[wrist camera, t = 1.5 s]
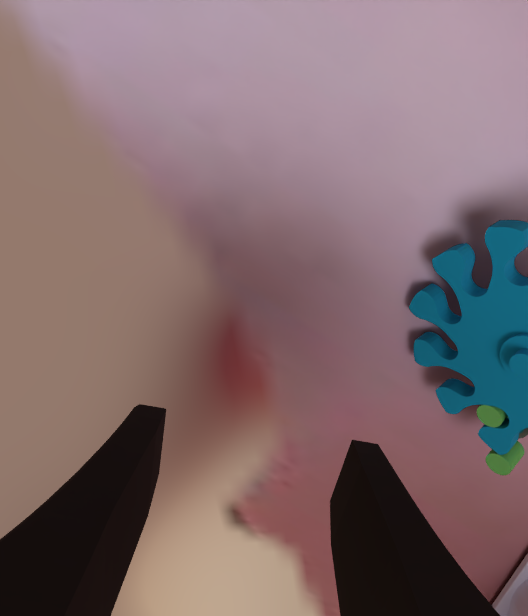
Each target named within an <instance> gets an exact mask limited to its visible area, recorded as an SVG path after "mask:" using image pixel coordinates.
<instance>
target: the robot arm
mask: <svg viewBox="0 0 528 616" xmlns="http://www.w3.org/2000/svg"><path fill="white" fill-rule="evenodd" d="M165 415H166V409H164V408H158V407H153V406H147V405H138V406H136V407H134V409H133V410H132V411H131V412H130V414H129V415H128V416H127V418H126V419H125V420H124V421H123V423H122V424H121V425H120V426H119V427H118V429H117V430H116V431H115V432H114V433H113V434H112V435H111V437H110V438H109V439H108V440H107V441H106V442H105V443H104V444H103V446H102V447H101V448H100V449H99V450H98V451H97V452H96V453H95V454H94V455H93V456H92V457H91V458H90V459H89V460H88V461H87V462H86V463H85V464H84V465H83V466H82V468H81V469H80V470H79V471H78V472H77V473H75V475H73V476H72V477H71V478H70V479H69V481H67V482H66V483H65V484H64V485H63V486H62V487H61V488H60V489H59V490H58V491H56V492H55V493H54V494H53V495H52V496H51V497H50V498H49V499H48V500H47V501H46V502H44V503H43V504H42V505H41V506H40V507H39V508H38V509H36V510H35V511H34V512H33V513H32V514H31V515H30V516H29V517H27V518H26V519H25V520H24V521H23V522H21V523H20V524H19V525H18V526H16V527H15V528H14V529H13V530H12V531H10V532H9V533H8V534H6V535H5V536H4V537H3V538H1V539H0V616H111V613H112V610H113V608H114V605H115V602H116V600H117V597H118V594H119V592H120V589H121V586H122V583H123V581H124V578H125V576H126V573H127V570H128V568H129V565H130V562H131V560H132V557H133V554H134V552H135V549H136V546H137V544H138V541H139V538H140V535H141V533H142V530H143V527H144V525H145V522H146V519H147V517H148V513H149V509H150V506H151V502H152V498H153V494H154V490H155V486H156V483H157V479H158V475H159V468H160V459H161V450H162V442H163V433H164V424H165ZM330 521H331V547H332V555H333V563H334V570H335V578H336V585H337V593H338V600H339V607H340V614H341V616H528V554H527V555H526V556H525V558H524V559H523V561H522V562H521V564H520V565H519V567H518V568H517V569H516V571H515V572H514V574H513V575H512V577H511V578H510V580H509V581H508V582H507V584H506V585H505V587H504V588H503V590H502V591H501V592H500V594H499V595H498V597H497V598H496V600H495V601H494V603H493V604H492V605H491V604H490V603H489V602H488V601H487V599H486V598H485V597H484V596H483V595H482V594H481V592H480V591H479V590H478V589H477V588H476V586H475V585H474V584H473V583H472V581H471V580H470V579H469V578H468V576H467V575H466V574H465V573H464V571H463V570H462V569H461V567H460V566H459V565H458V563H457V562H456V561H455V559H454V558H453V557H452V555H451V554H450V553H449V551H448V550H447V549H446V547H445V546H444V545H443V543H442V542H441V540H440V539H439V538H438V536H437V535H436V533H435V532H434V530H433V529H432V527H431V526H430V524H429V523H428V522H427V520H426V519H425V517H424V516H423V514H422V513H421V511H420V510H419V508H418V507H417V505H416V504H415V502H414V501H413V499H412V498H411V496H410V494H409V493H408V491H407V490H406V488H405V487H404V485H403V483H402V482H401V480H400V479H399V477H398V476H397V474H396V472H395V471H394V469H393V467H392V466H391V464H390V463H389V461H388V459H387V458H386V456H385V455H384V453H383V452H382V450H381V448H380V447H379V445H378V444H374V443H368V442H362V441H356V440H352V442H351V444H350V447H349V450H348V453H347V455H346V458H345V461H344V464H343V467H342V469H341V472H340V475H339V478H338V480H337V483H336V486H335V489H334V492H333V494H332V497H331V500H330Z"/></svg>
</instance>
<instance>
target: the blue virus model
mask: <svg viewBox="0 0 528 616" xmlns="http://www.w3.org/2000/svg"><path fill="white" fill-rule="evenodd" d="M485 243H486V246H487V248H488V250H489V252H490V255H491V258H492V265H493V271H492V277H491V281H490V284H489V287H488V289H484V288H481V287H479V286H477V285H476V284H475V283H474V281H473V279H472V269H473V266H474V263H475V254H474V251H473V249H472V248H471V246H470V245H469V244H467V243H464V244H459V245H455V246H453V247H451V248H449V249H448V250H446V251H445V252H443V253H441V254H440V255H438V256H436V257H435V258H433V259H432V264H433V267H434V269H435V271H436V272H437V273H438V274H439V275H440V276H441V277H442V278H444V279H445V280H446V281H447V282H448V283H449V285H450V286H451V287H452V289H453V290H454V292H455V294H456V296H457V298H458V301H459V305H460V308H461V312H462V316H458V315H456V314H454V313H453V312H452V311H451V310H450V308H449V306H448V303H447V299H446V295H445V293H444V291H443V290H442V289H441V288H440V287H439V286H437V285H435V284H432V283H431V284H430V285H428V286H427V287H425V288H424V289H422V290H421V291H419V292H418V293H417V294H416V295H415V296H414V298H413V300H412V302H411V304H410V306H409V309H410V310H411V312H412V313H413V314H414V315H415V316H416V317H418V318H421V319H424V320H427V321H429V322H431V323H433V324H435V325H437V326H438V327H439V328H441V329H442V330H443V331H444V332H445V333H446V334H447V335H448V336H449V337H450V339H451V340H452V341H453V342H454V343H455V345H456V346H457V349H458V351H455V350H453V349H451V348H450V347H449V346H448V345H447V344H446V342H445V341H444V340H443V339H442V338H441V337H440V336H439V335H438V334H436V333H433V332H425V333H424V334H423V335H421V336H420V337H419V338H417V339H416V340H415V343H414V357H415V361H416V362H417V363H418V364H420V365H422V366H425V367H430V366H442V367H447V368H450V369H452V370H454V371H457V372H458V373H460V374H462V375H464V376H466V377H467V378H469V379H470V380H471V381H472V383H473V384H474V387H472V386H470V385H468V384H466V383H464V382H462V381H460V380H458V379H454V378H451V379H448V380H446V381H445V382H444V383H443V384H442V385H441V386H440V387H439V388H438V389H436V394H437V397H438V399H439V401H440V403H441V405H442V406H443V408H444V409H445V411H446V412H447V413H450V414H457V413H459V412H460V411H461V410H462V409H464V408H466V407H468V406H471V405H480V406H479V407H478V409H477V416H478V418H479V419H480V421H481V422H482V423H484V424H485V425H484V426H483V427H482V428H481V429H480V430H479V433H478V435H479V436H480V438H481V439H482V440H483V441H484V442H485V443H486V444H487V445H488V446H489V447H490V448H492V450H491V451H490V453H489V454H488V455H487V456H486V463H487V465H488V466H489V468H490V469H491V470H492V471H494V472H495V473H497V474H500V475H508V474H509V473H510V472H511V471H512V469H513V468H514V467H515V465H516V464H517V463H518V461H519V460H520V459H521V458H522V456H523V455H524V448H523V446H522V445H521V444H520V443H519V442H518V441H517V440H518V438H523V437H525V436H526V435H528V277H525V276H523V275H521V274H520V273H519V272H518V271H517V270H516V268H515V265H514V260H515V257H516V256H517V254H519V253H520V252H521V251H522V250H524V249H525V248H526V247H528V223H527V222H524V221H518V220H499V221H498V222H496V223H495V224H493V225H491V226H490V227H489V228H488V229H487V231H486V234H485Z"/></svg>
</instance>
